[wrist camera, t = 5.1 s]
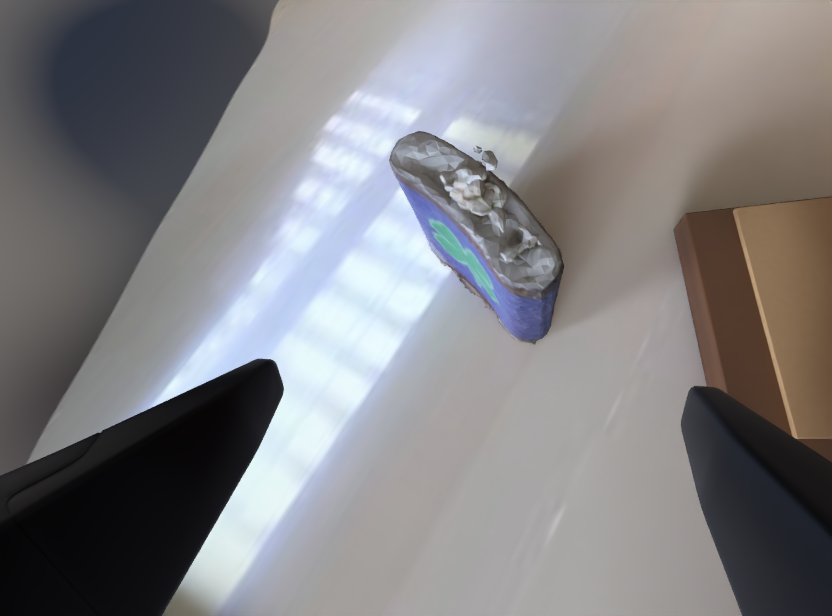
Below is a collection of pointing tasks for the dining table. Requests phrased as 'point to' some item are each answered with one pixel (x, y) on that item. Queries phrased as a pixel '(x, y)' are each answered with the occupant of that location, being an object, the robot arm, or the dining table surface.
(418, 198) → the flask
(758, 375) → the serving board
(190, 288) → the dining table surface
